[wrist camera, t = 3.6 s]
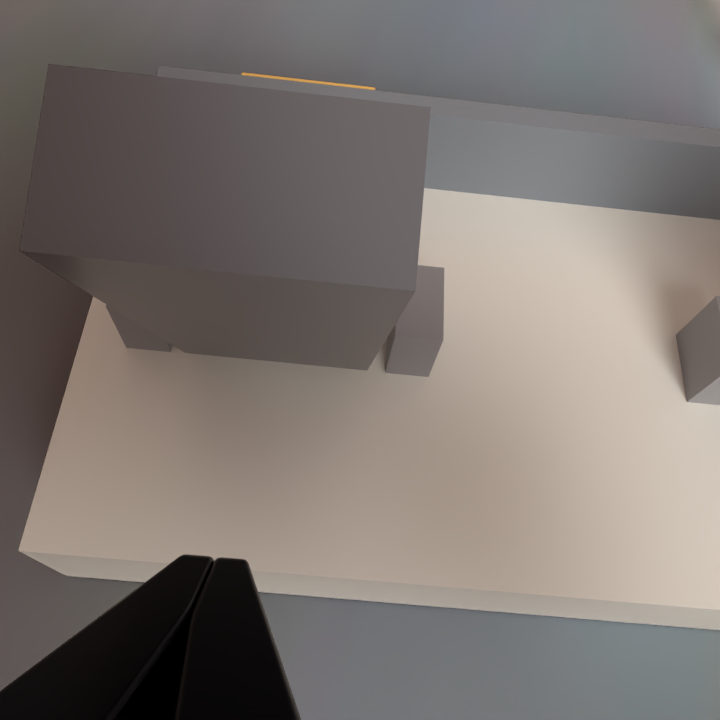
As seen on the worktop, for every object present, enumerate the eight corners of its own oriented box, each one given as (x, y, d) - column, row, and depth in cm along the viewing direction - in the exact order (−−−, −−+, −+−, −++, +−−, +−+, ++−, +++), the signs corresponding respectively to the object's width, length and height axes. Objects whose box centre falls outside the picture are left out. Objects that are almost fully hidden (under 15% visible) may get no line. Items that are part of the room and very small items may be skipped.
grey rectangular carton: (365, 372, 15) (414, 291, 7) (189, 356, 15) (19, 251, 7) (373, 287, 16) (430, 107, 7) (200, 269, 15) (48, 63, 7)
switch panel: (966, 650, 17) (1246, 631, 12) (66, 575, 16) (-41, 520, 11) (849, 279, 22) (1011, 156, 17) (161, 207, 21) (117, 55, 16)
